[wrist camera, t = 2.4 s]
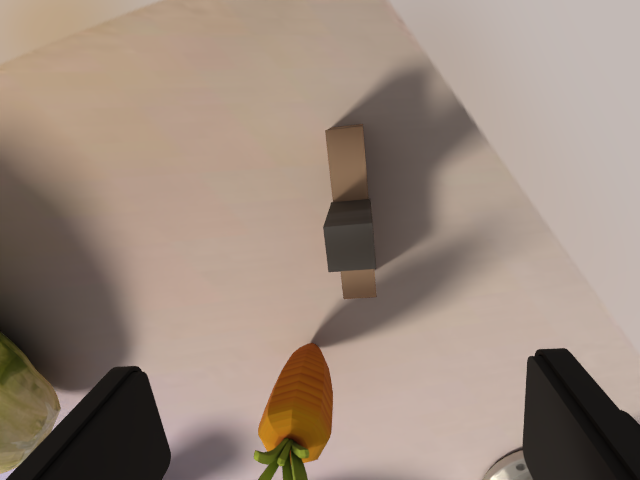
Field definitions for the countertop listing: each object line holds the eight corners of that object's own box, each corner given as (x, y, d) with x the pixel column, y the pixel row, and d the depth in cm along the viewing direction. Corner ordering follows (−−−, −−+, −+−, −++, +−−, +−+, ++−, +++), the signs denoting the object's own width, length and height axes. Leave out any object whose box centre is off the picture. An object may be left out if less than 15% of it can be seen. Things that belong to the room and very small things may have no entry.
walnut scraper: (329, 127, 30) (312, 136, 19) (363, 123, 29) (365, 130, 19) (345, 272, 33) (337, 345, 23) (375, 270, 33) (381, 343, 22)
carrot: (286, 366, 37) (238, 526, 23) (285, 320, 35) (233, 461, 21) (338, 370, 36) (323, 536, 22) (339, 323, 35) (324, 470, 20)
